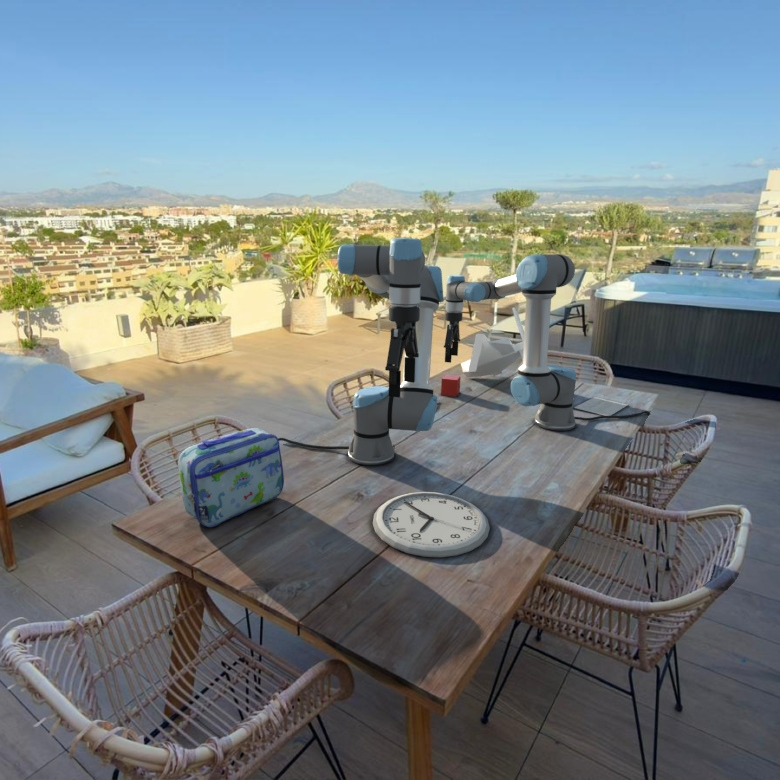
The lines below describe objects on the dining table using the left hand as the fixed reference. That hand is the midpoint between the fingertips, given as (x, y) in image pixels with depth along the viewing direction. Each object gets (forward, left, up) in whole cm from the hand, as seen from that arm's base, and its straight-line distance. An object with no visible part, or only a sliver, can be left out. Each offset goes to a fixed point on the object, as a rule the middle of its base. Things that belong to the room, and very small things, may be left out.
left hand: (402, 388), depth 132 cm
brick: (-20, +104, -34) cm, 111 cm away
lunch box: (-39, -20, -34) cm, 55 cm away
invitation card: (+45, +116, -34) cm, 129 cm away
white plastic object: (-2, +130, -34) cm, 134 cm away
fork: (-21, +84, -34) cm, 93 cm away
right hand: (-19, +103, -17) cm, 106 cm away
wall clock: (+10, -4, -34) cm, 36 cm away
